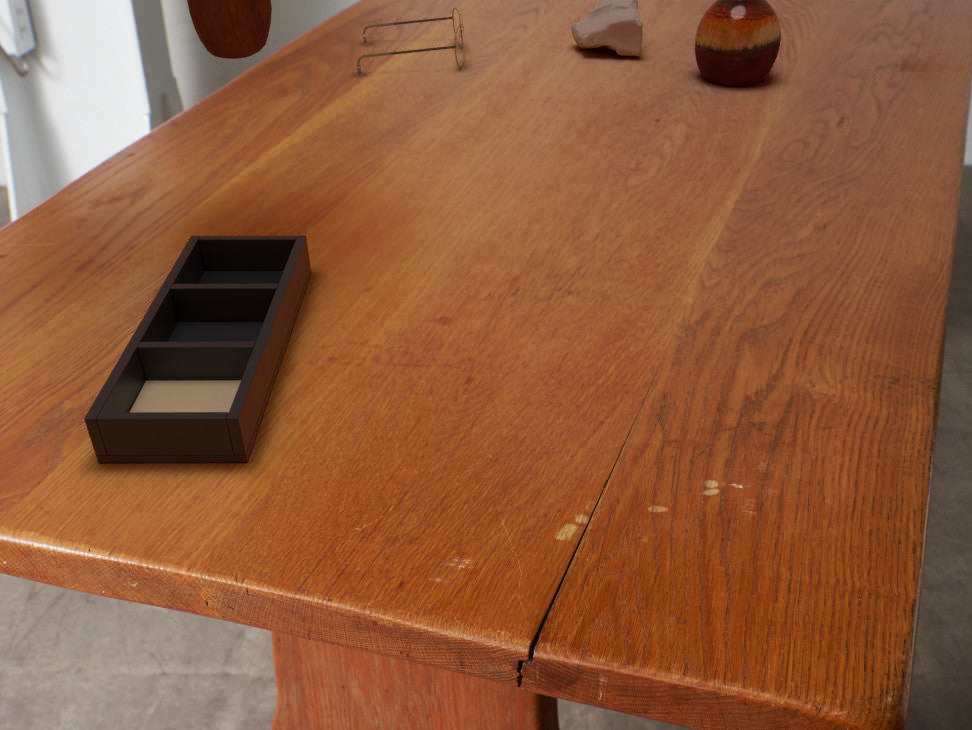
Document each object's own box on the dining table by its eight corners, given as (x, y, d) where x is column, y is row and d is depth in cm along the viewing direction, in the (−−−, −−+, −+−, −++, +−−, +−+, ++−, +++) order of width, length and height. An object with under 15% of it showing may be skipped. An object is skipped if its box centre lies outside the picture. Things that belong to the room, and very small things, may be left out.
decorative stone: (561, 32, 148) (602, -31, 144) (607, 70, 152) (649, 10, 149) (578, 45, 139) (623, -22, 136) (627, 84, 143) (672, 21, 140)
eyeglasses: (466, 71, 139) (465, 32, 135) (357, 73, 138) (353, 34, 135) (463, 40, 151) (462, 3, 148) (362, 42, 150) (359, 5, 147)
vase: (756, 95, 130) (776, -39, 120) (677, 82, 135) (690, -49, 125) (786, 73, 137) (806, -55, 128) (710, 62, 142) (724, -63, 132)
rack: (97, 463, 68) (83, 418, 66) (199, 273, 90) (190, 235, 88) (247, 462, 68) (238, 418, 66) (311, 273, 90) (306, 235, 88)
